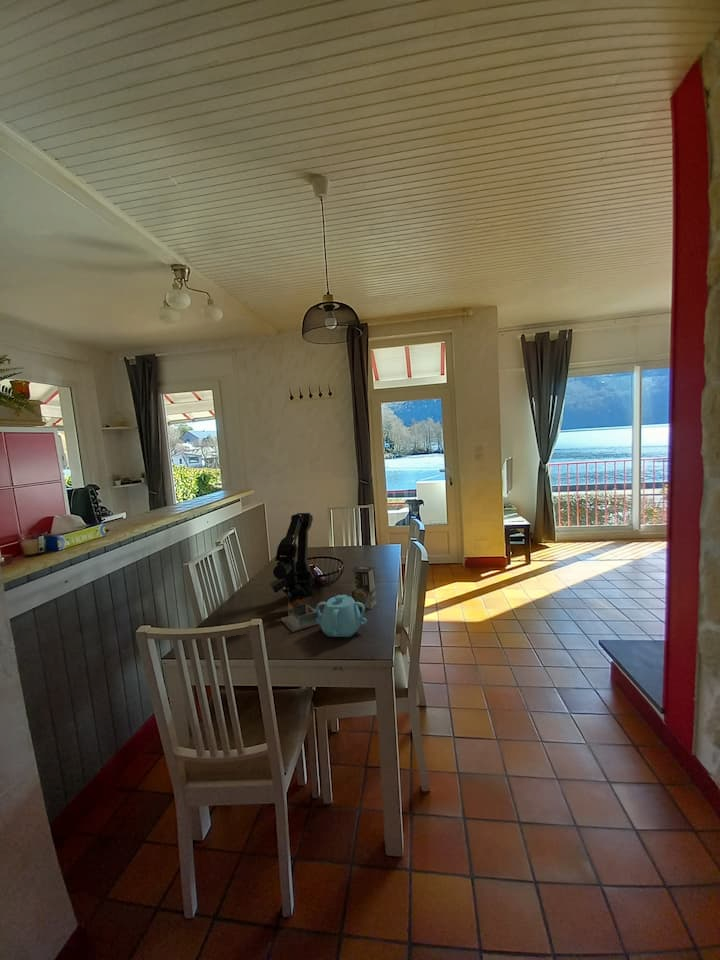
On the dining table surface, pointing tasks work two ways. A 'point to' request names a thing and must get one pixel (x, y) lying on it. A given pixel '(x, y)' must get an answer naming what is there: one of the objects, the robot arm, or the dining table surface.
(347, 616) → the decorative pot
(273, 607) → the dining table surface
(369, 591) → the coffee box
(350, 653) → the dining table surface
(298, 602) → the lock block
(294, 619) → the channel
